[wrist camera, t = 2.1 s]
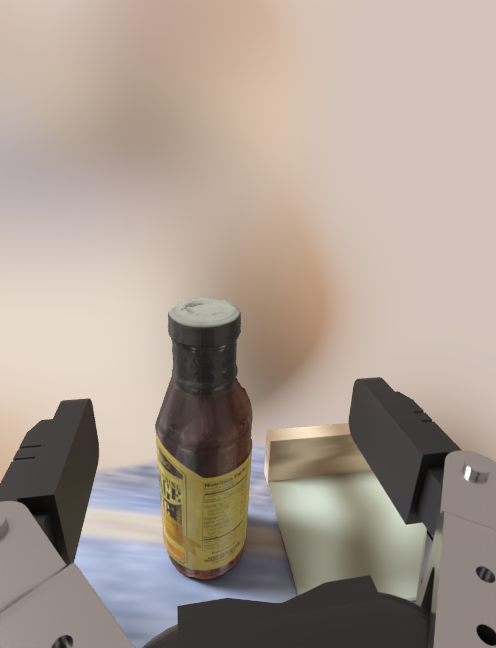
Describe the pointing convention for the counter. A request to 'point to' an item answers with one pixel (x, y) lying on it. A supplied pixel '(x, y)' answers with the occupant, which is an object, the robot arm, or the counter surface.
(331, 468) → the beige l-shaped piece
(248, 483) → the sauce bottle
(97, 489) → the counter surface
